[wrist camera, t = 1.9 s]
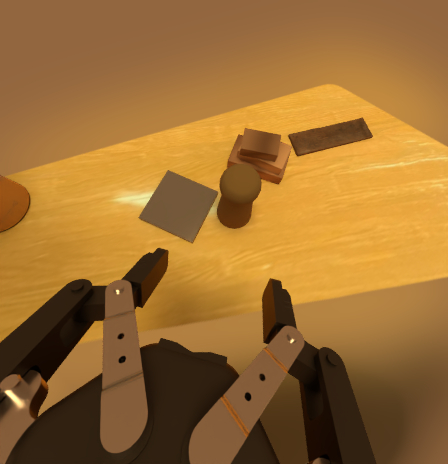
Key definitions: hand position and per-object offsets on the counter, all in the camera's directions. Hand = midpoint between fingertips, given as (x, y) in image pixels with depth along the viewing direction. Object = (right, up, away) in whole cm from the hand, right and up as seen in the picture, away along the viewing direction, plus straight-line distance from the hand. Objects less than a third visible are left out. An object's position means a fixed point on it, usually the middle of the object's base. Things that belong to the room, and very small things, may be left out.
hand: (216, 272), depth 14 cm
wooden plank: (+22, +22, +23) cm, 39 cm away
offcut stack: (+7, +16, +20) cm, 27 cm away
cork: (+2, +7, +18) cm, 19 cm away
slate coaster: (-7, +8, +18) cm, 21 cm away
